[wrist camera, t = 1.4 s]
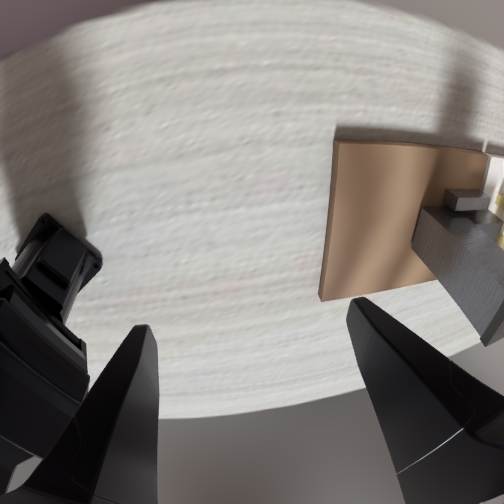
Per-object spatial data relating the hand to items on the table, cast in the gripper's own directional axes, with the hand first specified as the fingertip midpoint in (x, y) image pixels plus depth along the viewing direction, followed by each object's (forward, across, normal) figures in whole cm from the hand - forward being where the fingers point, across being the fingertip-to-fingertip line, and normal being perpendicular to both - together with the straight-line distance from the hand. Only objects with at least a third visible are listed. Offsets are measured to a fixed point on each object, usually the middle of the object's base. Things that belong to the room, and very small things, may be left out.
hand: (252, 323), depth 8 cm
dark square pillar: (+12, -20, +5) cm, 24 cm away
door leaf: (+13, -15, +5) cm, 21 cm away
